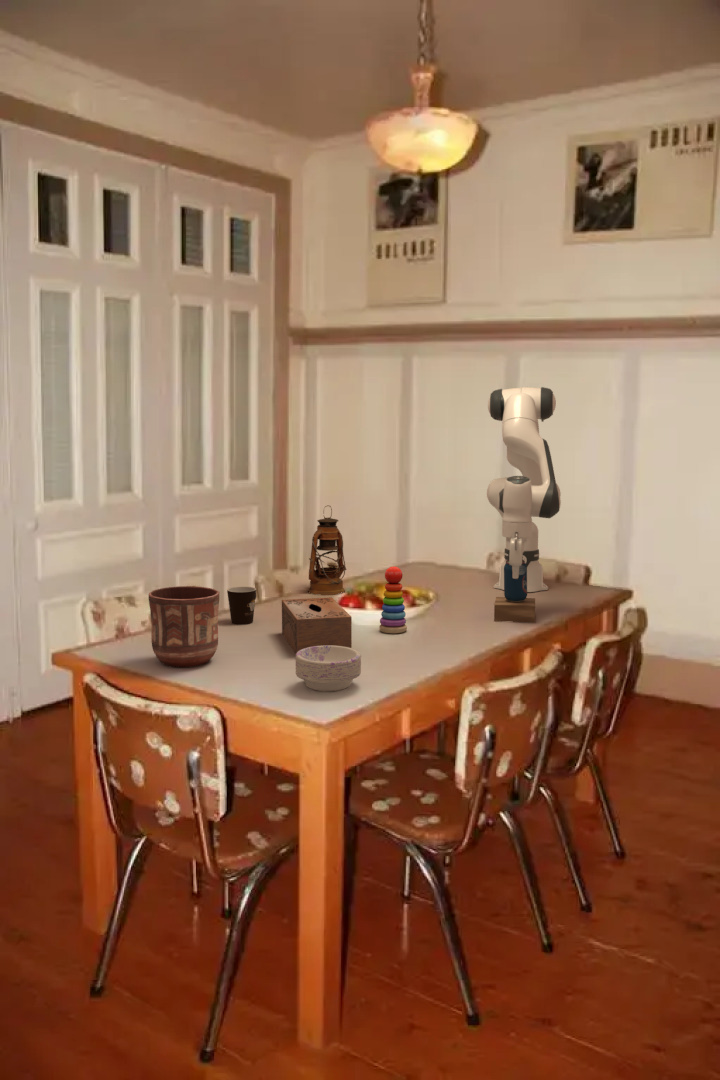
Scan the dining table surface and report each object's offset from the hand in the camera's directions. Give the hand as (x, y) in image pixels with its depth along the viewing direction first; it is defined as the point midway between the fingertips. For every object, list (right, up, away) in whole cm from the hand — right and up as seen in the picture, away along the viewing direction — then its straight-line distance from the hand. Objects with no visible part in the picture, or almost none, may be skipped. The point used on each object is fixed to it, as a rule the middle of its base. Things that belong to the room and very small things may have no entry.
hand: (515, 575), depth 296 cm
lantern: (-59, -7, +42) cm, 73 cm away
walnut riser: (0, -13, +2) cm, 13 cm away
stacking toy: (-38, -16, -16) cm, 44 cm away
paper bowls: (-55, -23, -69) cm, 91 cm away
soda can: (0, -8, +2) cm, 8 cm away
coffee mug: (-81, -14, -4) cm, 83 cm away
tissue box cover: (-60, -18, -29) cm, 68 cm away
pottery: (-92, -20, -48) cm, 105 cm away
